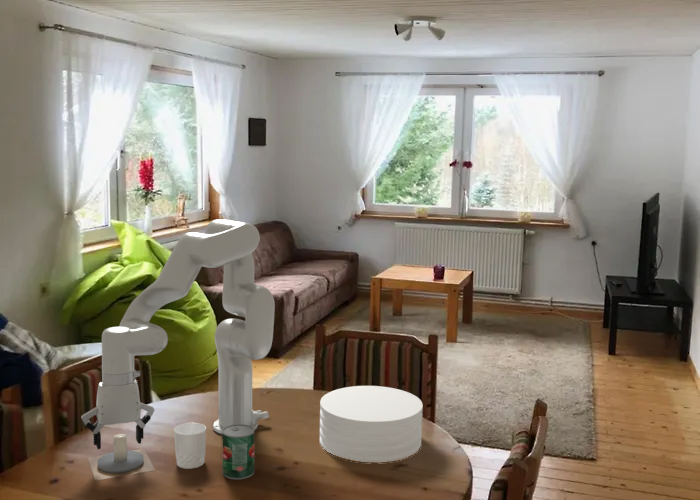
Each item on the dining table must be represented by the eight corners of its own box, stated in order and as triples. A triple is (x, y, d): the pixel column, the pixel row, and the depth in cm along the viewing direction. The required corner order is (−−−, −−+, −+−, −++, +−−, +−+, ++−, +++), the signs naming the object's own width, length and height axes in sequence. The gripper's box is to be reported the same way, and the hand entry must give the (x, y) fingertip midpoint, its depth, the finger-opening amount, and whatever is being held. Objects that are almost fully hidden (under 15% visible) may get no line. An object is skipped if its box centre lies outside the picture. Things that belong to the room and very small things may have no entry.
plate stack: (399, 419, 223) (400, 382, 221) (437, 457, 197) (439, 415, 195) (308, 428, 215) (308, 390, 213) (336, 469, 188) (337, 426, 187)
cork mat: (144, 452, 195) (144, 448, 195) (155, 474, 183) (155, 470, 183) (87, 461, 189) (87, 457, 189) (95, 484, 177) (95, 480, 177)
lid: (139, 451, 193) (138, 425, 192) (147, 468, 183) (147, 440, 182) (94, 459, 188) (93, 431, 187) (101, 476, 179) (100, 448, 178)
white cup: (198, 474, 183) (198, 436, 182) (169, 471, 185) (168, 432, 183) (211, 461, 191) (211, 424, 189) (182, 458, 192) (182, 421, 191)
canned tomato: (260, 473, 185) (261, 431, 183) (233, 482, 179) (233, 439, 178) (242, 462, 190) (243, 421, 189) (216, 471, 185) (216, 429, 184)
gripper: (151, 369, 190) (151, 434, 192) (79, 376, 182) (80, 443, 184) (157, 378, 183) (157, 445, 185) (82, 386, 175) (83, 455, 178)
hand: (118, 444), depth 185 cm, fingers open, 9 cm apart
